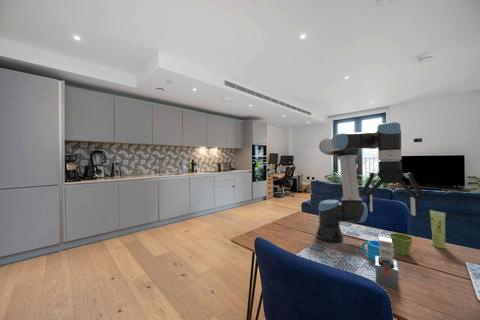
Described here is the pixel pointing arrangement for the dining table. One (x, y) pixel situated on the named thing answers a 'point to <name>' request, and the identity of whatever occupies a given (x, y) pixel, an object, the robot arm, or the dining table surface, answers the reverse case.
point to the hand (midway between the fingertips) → (391, 212)
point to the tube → (438, 228)
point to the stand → (387, 274)
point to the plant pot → (401, 243)
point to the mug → (372, 249)
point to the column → (386, 250)
